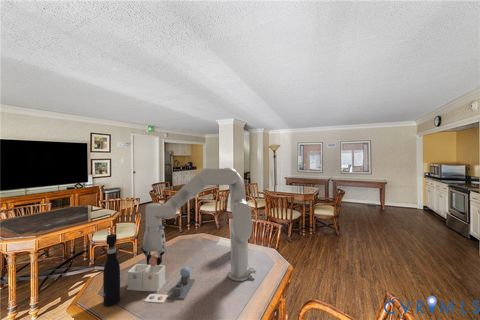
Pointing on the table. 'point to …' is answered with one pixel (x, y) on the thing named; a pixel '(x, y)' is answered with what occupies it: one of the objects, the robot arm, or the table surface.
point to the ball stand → (181, 288)
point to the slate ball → (185, 272)
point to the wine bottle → (111, 274)
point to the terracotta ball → (153, 260)
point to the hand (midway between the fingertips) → (154, 263)
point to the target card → (156, 298)
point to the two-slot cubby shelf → (146, 277)
